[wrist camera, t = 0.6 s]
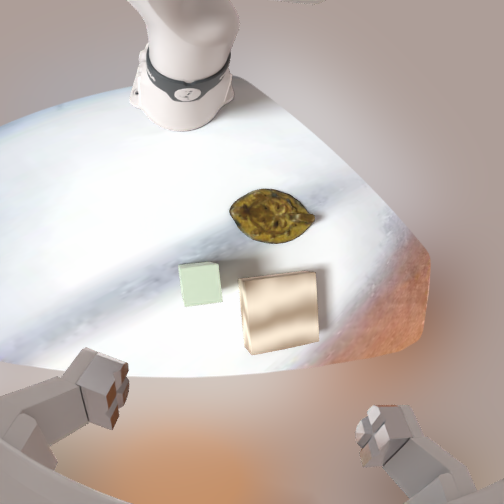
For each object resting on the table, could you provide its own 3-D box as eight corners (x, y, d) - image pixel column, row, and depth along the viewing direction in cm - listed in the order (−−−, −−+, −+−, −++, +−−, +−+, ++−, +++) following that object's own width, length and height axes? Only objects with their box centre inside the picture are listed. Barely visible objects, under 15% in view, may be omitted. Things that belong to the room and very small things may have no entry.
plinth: (237, 278, 50) (245, 281, 45) (302, 270, 53) (315, 272, 48) (244, 346, 50) (252, 355, 46) (306, 334, 54) (319, 341, 49)
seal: (226, 240, 51) (307, 244, 54) (231, 243, 46) (318, 247, 50) (229, 185, 50) (310, 193, 53) (235, 183, 45) (322, 192, 49)
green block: (178, 264, 47) (180, 268, 37) (208, 261, 48) (218, 264, 39) (181, 295, 47) (185, 306, 38) (211, 291, 49) (222, 301, 39)
